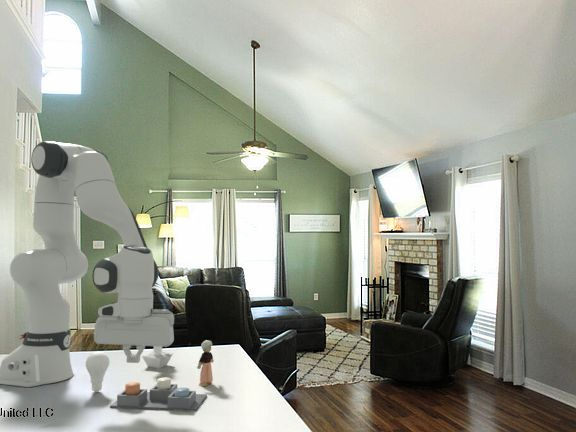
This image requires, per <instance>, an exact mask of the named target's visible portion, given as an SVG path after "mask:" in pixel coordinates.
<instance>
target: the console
mask: <svg viewBox="0 0 576 432" xmlns="http://www.w3.org/2000/svg"><path fill="white" fill-rule="evenodd" d="M177 388H178V383H171V389H170V390H157V383H156V384H154V386H152V388H150V389H149V391H148V388H140V394H139V395H125V389H123V390H122V391H121V392H119V394H117V397H116V401H114V402H113V403H112V404H110V405H109V408H111V409H112V408H113V409H114V408H115V409H134V410H135V409H136V410H137V409H138V410H139V409H140V410H159V411H161V410H162V411H183V412H184V411H186V412H196V411H198V409H199V408H200V406H201V405H202V403H203V402H204V401H205V399H206V398H207V397H208V394H205V393H204V394H202V393H197V391H196V390H189V397H175V389H177Z"/></svg>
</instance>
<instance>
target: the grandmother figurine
mask: <svg viewBox="0 0 576 432" xmlns="http://www.w3.org/2000/svg"><path fill="white" fill-rule="evenodd" d="M212 346H213V342H212V340H207V339H206V340H204V341H203V342H202V343H201V345H200V347H201V349H202V352H203V353H201V356H200V358H199V360H198V363H197V367H196V368H197V369H198V370H200V376H199V383H198V386H200V387H207V386H208V385H211V384H213V379H214V378H213V369H212V363H214V357H213V353H212V352H211V351H212Z"/></svg>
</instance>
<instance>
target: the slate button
mask: <svg viewBox="0 0 576 432" xmlns="http://www.w3.org/2000/svg"><path fill="white" fill-rule="evenodd" d="M189 391H190V388H188V387H183V386H182V387H177V389H175V397H189Z"/></svg>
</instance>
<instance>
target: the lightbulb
mask: <svg viewBox="0 0 576 432" xmlns="http://www.w3.org/2000/svg"><path fill="white" fill-rule="evenodd" d="M109 366H110V358H109V356H108V354H106V353H105V352H103V351H94V352H93V353H91V354H90V355H89V356H87V358H86V361H85V368H86V370H87V372H88V374H89V377H90V383H91V391H93V392H94V393H99V392H100V391H101V390H102V388H103V387H102V386H103V382H104V377H105V374H106V373H107V371H108V368H109Z"/></svg>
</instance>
